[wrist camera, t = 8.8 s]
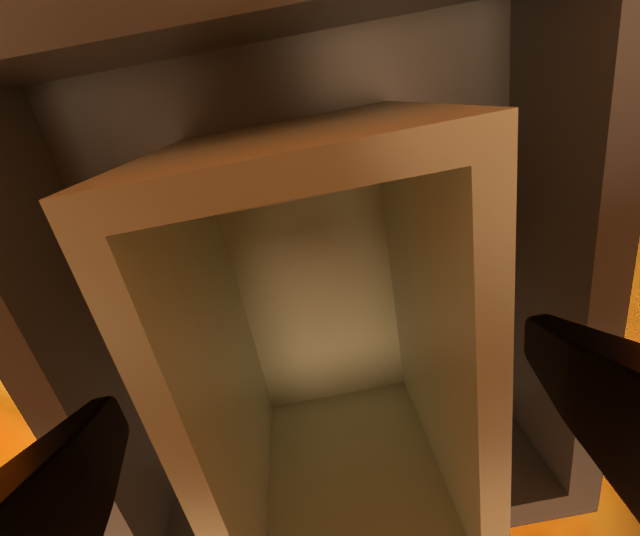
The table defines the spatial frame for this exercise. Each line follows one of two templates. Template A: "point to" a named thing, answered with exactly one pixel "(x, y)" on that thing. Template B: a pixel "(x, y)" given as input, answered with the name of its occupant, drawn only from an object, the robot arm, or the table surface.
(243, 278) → the small crate
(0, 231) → the big crate
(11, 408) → the table surface
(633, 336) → the table surface
